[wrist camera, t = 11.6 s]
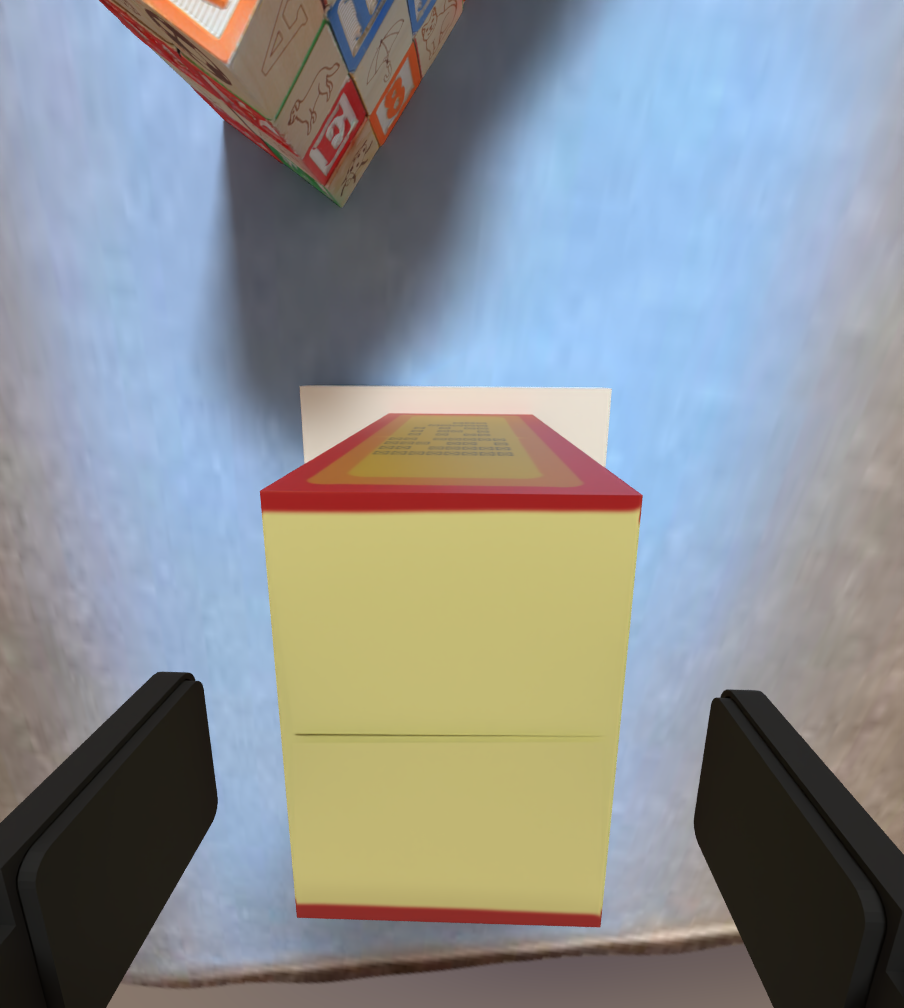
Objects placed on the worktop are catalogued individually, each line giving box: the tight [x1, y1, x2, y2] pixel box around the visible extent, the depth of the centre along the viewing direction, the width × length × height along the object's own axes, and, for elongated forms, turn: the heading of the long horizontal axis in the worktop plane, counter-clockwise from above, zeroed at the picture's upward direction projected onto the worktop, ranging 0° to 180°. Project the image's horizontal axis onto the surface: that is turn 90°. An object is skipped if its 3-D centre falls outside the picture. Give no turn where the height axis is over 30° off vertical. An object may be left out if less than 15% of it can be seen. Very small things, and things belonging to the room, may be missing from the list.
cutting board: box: [300, 385, 612, 467], centre depth 26 cm, size 14×12×2 cm
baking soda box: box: [260, 413, 643, 927], centre depth 18 cm, size 10×6×16 cm
